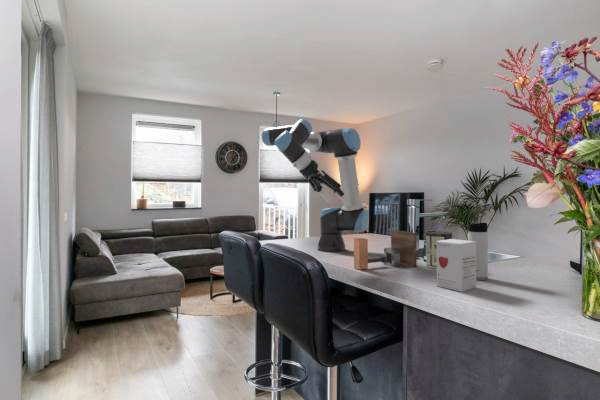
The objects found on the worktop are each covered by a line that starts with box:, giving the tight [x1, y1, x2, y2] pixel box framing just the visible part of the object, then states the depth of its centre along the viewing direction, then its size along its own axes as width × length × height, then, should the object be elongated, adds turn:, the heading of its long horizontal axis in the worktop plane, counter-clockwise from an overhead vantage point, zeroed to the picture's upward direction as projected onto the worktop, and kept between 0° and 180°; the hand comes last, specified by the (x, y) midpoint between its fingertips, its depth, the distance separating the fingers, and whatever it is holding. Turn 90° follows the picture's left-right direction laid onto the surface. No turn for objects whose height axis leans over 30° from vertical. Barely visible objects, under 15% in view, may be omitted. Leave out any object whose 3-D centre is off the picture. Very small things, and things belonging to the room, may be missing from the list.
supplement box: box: [436, 238, 477, 292], centre depth 116 cm, size 9×9×15 cm
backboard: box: [390, 229, 418, 269], centre depth 155 cm, size 5×14×14 cm, turn 24°
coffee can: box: [425, 231, 453, 269], centre depth 149 cm, size 10×10×14 cm
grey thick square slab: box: [383, 247, 401, 268], centre depth 153 cm, size 3×7×7 cm, turn 24°
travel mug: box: [467, 222, 489, 281], centre depth 127 cm, size 6×7×20 cm
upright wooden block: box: [353, 237, 386, 271], centre depth 148 cm, size 14×4×12 cm, turn 114°
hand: (338, 201), depth 152 cm, fingers open, 13 cm apart
